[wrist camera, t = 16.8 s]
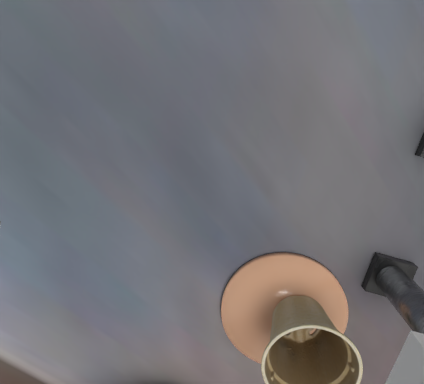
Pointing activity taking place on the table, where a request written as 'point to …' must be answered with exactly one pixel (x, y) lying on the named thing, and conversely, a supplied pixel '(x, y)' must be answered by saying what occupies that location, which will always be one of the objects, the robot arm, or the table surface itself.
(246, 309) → the saucer
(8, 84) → the table surface
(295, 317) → the flower pot
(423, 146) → the post
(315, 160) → the table surface
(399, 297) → the post
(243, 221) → the table surface
